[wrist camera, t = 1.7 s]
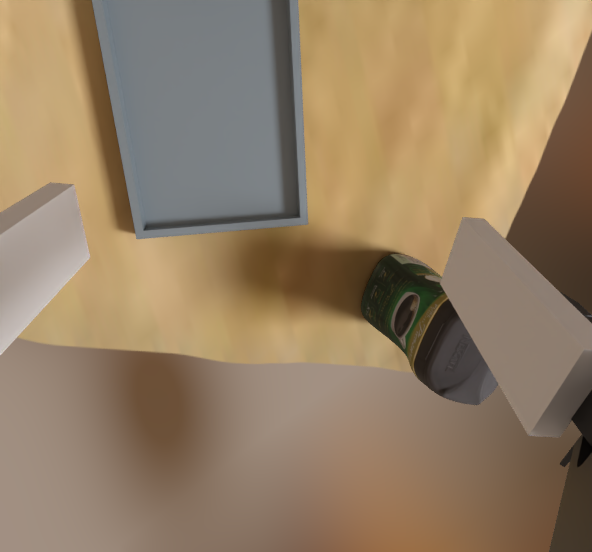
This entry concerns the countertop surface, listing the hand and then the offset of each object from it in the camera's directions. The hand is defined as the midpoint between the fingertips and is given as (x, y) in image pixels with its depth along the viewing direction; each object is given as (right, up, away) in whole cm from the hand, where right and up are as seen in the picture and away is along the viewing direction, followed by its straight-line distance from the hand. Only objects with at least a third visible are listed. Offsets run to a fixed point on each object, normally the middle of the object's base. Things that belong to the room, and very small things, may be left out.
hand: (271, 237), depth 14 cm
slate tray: (-8, +19, +25) cm, 32 cm away
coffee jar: (+13, -3, +36) cm, 38 cm away
